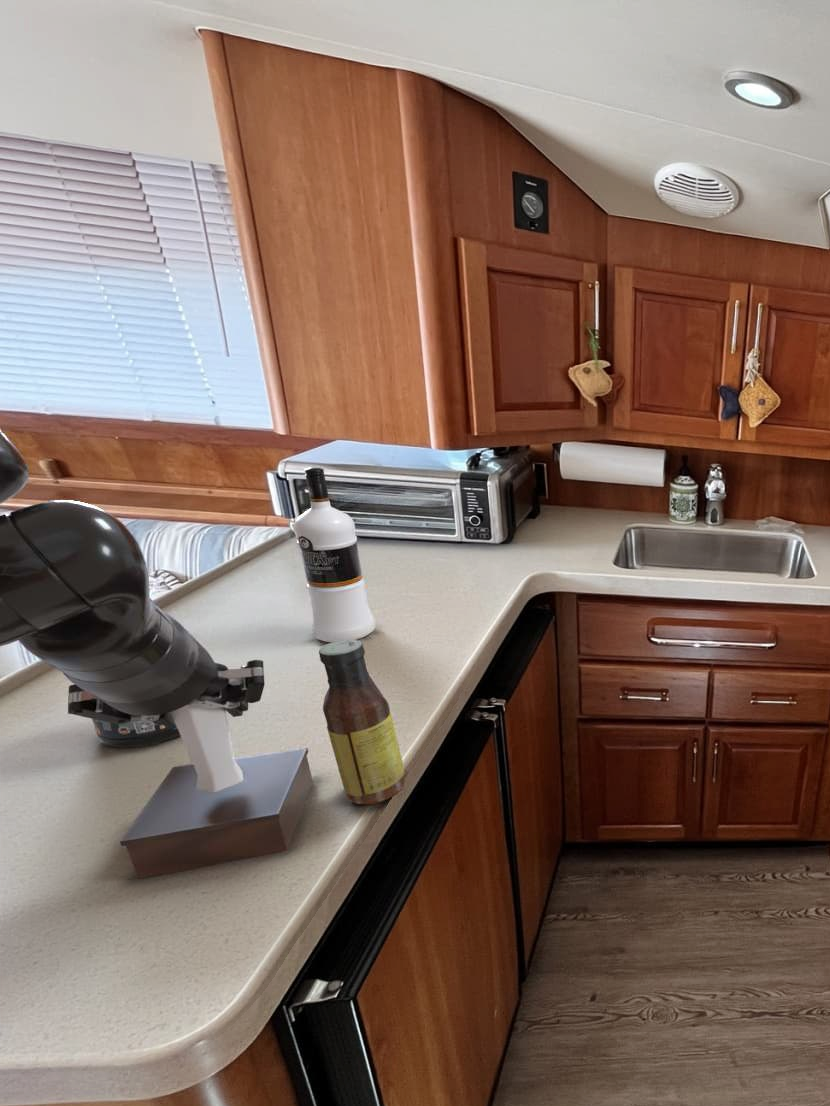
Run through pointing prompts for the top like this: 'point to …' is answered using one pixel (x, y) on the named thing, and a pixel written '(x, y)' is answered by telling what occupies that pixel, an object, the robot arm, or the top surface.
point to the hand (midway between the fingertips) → (206, 712)
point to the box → (220, 815)
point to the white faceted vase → (208, 746)
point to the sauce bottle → (360, 726)
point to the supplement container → (133, 733)
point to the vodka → (332, 567)
